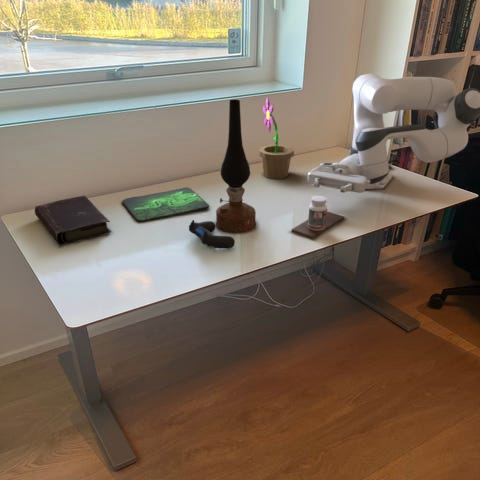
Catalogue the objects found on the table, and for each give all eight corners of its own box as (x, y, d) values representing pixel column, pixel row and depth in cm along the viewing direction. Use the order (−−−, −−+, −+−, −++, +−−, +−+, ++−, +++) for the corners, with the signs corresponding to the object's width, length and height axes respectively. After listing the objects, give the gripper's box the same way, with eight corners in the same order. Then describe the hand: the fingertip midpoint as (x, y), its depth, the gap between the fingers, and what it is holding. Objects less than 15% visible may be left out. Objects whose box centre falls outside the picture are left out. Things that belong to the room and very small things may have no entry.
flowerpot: (253, 170, 215) (254, 95, 198) (285, 167, 218) (288, 92, 201) (265, 182, 204) (267, 102, 186) (298, 178, 207) (303, 100, 190)
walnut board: (323, 213, 178) (323, 210, 177) (344, 219, 174) (344, 216, 173) (291, 232, 165) (291, 229, 165) (313, 239, 161) (313, 236, 160)
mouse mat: (137, 222, 171) (137, 220, 171) (120, 200, 187) (120, 198, 187) (211, 208, 181) (211, 205, 180) (189, 188, 197) (188, 186, 197)
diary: (57, 247, 157) (53, 232, 154) (36, 219, 174) (33, 205, 171) (114, 233, 165) (112, 219, 162) (89, 208, 182) (86, 194, 179)
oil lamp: (259, 229, 175) (283, 106, 157) (246, 240, 162) (270, 107, 144) (222, 219, 178) (242, 97, 160) (206, 229, 165) (225, 97, 147)
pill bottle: (326, 231, 163) (329, 202, 158) (308, 231, 163) (311, 202, 158) (323, 223, 168) (326, 195, 162) (306, 224, 168) (308, 195, 162)
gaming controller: (206, 236, 168) (182, 228, 162) (214, 221, 166) (189, 211, 160) (230, 257, 156) (205, 248, 150) (239, 240, 154) (213, 231, 148)
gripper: (370, 189, 176) (357, 202, 166) (315, 179, 184) (300, 191, 174) (373, 171, 172) (360, 183, 162) (317, 162, 180) (301, 173, 171)
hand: (329, 187), depth 168 cm, fingers open, 8 cm apart
